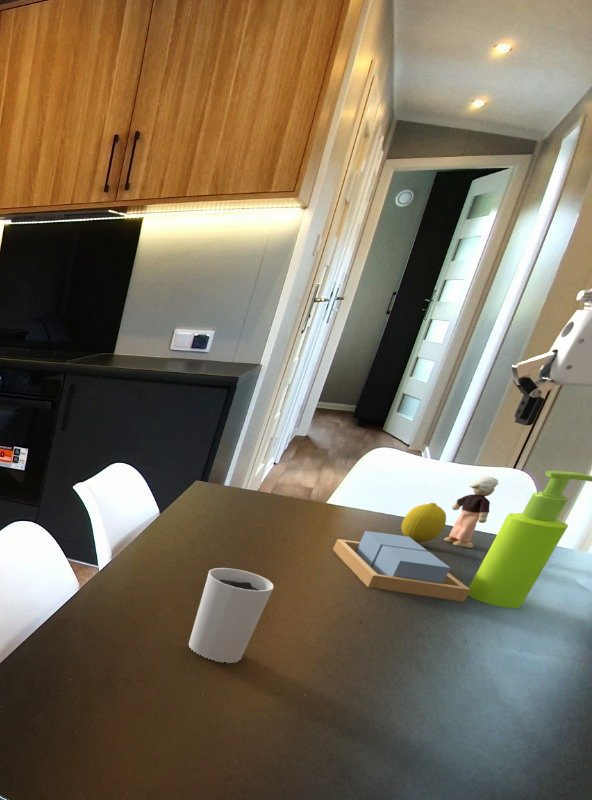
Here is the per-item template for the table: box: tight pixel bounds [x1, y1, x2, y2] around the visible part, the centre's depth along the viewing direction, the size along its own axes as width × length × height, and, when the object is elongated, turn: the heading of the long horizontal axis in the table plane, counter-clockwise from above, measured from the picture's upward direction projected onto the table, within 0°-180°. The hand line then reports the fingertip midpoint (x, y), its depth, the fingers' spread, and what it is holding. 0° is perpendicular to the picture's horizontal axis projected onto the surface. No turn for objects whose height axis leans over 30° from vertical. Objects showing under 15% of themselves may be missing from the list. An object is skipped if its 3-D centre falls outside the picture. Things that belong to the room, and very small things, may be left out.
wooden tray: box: [332, 538, 470, 603], centre depth 103 cm, size 12×17×2 cm
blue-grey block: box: [372, 546, 451, 584], centre depth 99 cm, size 6×7×4 cm
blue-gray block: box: [356, 530, 428, 568], centre depth 105 cm, size 6×7×4 cm
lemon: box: [400, 502, 447, 544], centre depth 116 cm, size 6×6×8 cm
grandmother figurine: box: [443, 476, 499, 549], centre depth 116 cm, size 8×4×13 cm, turn 179°
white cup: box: [188, 567, 274, 664], centre depth 78 cm, size 7×7×10 cm
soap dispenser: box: [467, 470, 592, 609], centre depth 91 cm, size 6×7×20 cm
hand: (566, 426), depth 93 cm, fingers open, 9 cm apart
